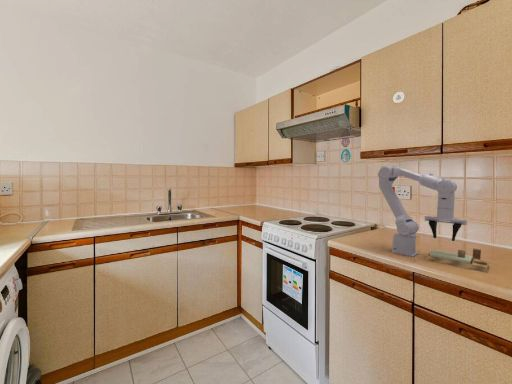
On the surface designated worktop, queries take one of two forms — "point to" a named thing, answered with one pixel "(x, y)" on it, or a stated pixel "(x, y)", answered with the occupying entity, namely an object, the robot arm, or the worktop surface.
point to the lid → (452, 255)
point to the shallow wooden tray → (462, 263)
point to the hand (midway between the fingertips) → (443, 239)
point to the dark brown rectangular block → (476, 254)
